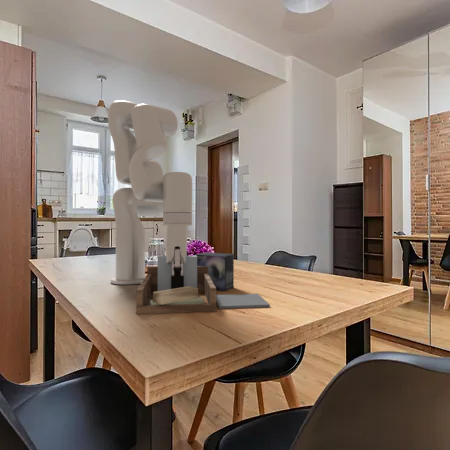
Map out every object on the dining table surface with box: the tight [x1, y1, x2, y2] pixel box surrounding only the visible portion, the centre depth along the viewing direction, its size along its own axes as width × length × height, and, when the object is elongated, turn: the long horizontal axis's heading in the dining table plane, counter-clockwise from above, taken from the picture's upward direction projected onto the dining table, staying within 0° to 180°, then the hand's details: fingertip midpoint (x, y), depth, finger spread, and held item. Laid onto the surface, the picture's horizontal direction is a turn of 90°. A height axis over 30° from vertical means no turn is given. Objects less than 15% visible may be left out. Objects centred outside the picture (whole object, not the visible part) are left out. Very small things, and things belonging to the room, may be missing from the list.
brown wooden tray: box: [135, 266, 217, 315], centre depth 83 cm, size 25×17×7 cm
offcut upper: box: [152, 286, 199, 305], centre depth 75 cm, size 4×10×2 cm, turn 133°
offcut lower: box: [148, 295, 205, 305], centre depth 75 cm, size 4×12×2 cm, turn 108°
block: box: [157, 254, 197, 291], centre depth 85 cm, size 4×10×11 cm, turn 98°
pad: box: [216, 293, 271, 310], centre depth 81 cm, size 12×12×1 cm
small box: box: [195, 252, 235, 292], centre depth 99 cm, size 11×6×10 cm, turn 62°
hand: (177, 289), depth 85 cm, fingers closed on block, 3 cm apart
